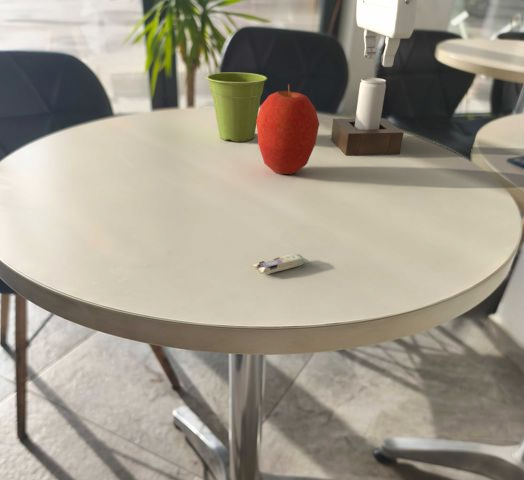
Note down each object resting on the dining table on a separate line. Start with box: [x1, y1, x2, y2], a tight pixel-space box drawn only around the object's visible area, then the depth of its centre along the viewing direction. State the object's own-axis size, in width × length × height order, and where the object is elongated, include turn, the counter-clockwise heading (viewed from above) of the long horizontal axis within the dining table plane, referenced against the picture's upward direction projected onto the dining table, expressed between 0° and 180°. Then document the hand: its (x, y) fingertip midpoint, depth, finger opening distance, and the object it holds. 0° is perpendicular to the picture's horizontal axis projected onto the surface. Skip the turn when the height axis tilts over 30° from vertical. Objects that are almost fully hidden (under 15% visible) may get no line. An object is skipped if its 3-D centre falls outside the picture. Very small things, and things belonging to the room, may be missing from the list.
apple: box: [256, 84, 320, 175], centre depth 82 cm, size 10×10×14 cm
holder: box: [330, 117, 405, 156], centre depth 99 cm, size 11×11×4 cm
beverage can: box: [354, 77, 387, 130], centre depth 96 cm, size 5×5×12 cm
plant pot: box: [205, 71, 268, 143], centre depth 99 cm, size 12×12×11 cm
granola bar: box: [251, 253, 310, 275], centre depth 59 cm, size 7×2×1 cm, turn 118°
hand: (377, 62), depth 91 cm, fingers open, 8 cm apart
